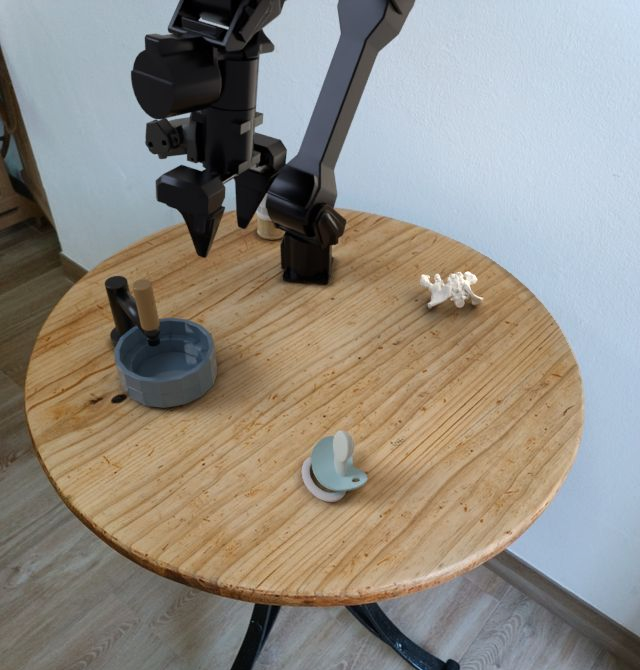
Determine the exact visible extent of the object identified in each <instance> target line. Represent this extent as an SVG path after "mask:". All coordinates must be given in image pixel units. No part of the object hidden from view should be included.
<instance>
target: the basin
mask: <svg viewBox="0 0 640 670" xmlns="http://www.w3.org/2000/svg"><path fill="white" fill-rule="evenodd" d="M159 323H160V325H159V328H160V334H159V337H160V344H159V345H158V346H155V347H152V346H149V345H148V342H147V337H146V336H145V335H144V334H143V333H142V331H141V330H140V329H139V328H138V327H137V326H135V327H133V328H132V329H130V330H129V331H128V332H127V333H125V334H124V335H123V336H122V337H121V338H120V339H119V341H118V343H117V345H116V347H114V349H113V353H114V354H113V355H114V363H115V367H116V372H117V374H118V379H119V383H120V386H121V388H122V390H123V391H124V392H125V394H126V395H127V396H128V397H129V399H130V400H132V401H135V402H137V403H139V404H141V405H143V406H145V407H154V408H163V409H164V408H165V409H166V408H172V407H177V406H183V405H186V404H189V403H191V402H193V401H196V400H198V399H199V398H201V397H203V396H204V395H205V394H206V393H207V392H208V391H209V390H210V389H211V388H212V387H213V386H214V384H215V381H216V378H217V376H218V363H217V355H216V348H215V343H214V339H213V335H212V334H211V333H210V332H209V331H208V330H207V329H206V328H205V327H204V326H203V325H202V324H200V323H197V322H195V321H192V320H190V319H187V318H179V317H164V318H159Z"/></svg>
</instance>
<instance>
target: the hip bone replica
mask: <svg viewBox="0 0 640 670" xmlns="http://www.w3.org/2000/svg"><path fill="white" fill-rule="evenodd" d="M430 279H431V277H430V275H428V274H420V280H419V285H420V287H422V288H423V289H428V292H430V293H431V296H430V302H428V303H427V307H428V309H430V310H431V309H432V307H434V306H437V305H440V304H442V303H445V302H446V301H447V300H448V299H449V301H453V304H454V305H455V307H456V308H459V309H460V308H463V307H464V306H465V304H466V303H465V300H468V299H469V298H470V300H471V304H472V305H478V304H481V303H482V302H483V301H484V297H480V296H478V295H477V294H475V293H474V292H473V290H472V288H471V286H473V285H475V284H477V282H478V278H477V276H476V275H475V274H473V273H472V272H470V271H465V272H464V273H462V272H461V271H457V272H455V273H449V277H447V278H446V279H447V282H446V283H444V279H442V278H441V275H440V274H439V273H435V274H434V276H433V279H434V281H435V282H433V283H432V282H431V281H430Z"/></svg>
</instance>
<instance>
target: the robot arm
mask: <svg viewBox="0 0 640 670" xmlns="http://www.w3.org/2000/svg"><path fill="white" fill-rule="evenodd" d="M287 1H288V0H179V1H178V2H177V5H176V8H175V9H174V12H173V14H172V17H171V19H170V21H169V23H168V25H167V32H168V33H169V34H161V33H148V34H145V35H144V49H143V50H141V51H140V52H138V54H137V55H136V57H135V60H134V61H133V66H132V70H130V82H131V87H132V91H133V94H134V97H135V98H136V101H137V103H138V106H140V109H141V110H143V112H144V113H145V114H146V115H147V116H149V117H150V118H152V119H153V120H151V121H148V122H146V124H145V138H144V139H145V140H144V143H145V146H146V147H147V149H148V151H149V152H150V154H152V155H157V157H158V159H159V160H166V159H167V158H168V157H176V156H184V155H186V161H187V162H190V163H193V164H202V168H204V169H202V170H199V169H197V168H193V167H190V166H187V165H184V164H180V165H178V166H176V167H174V168H171V169H170V170H168V171H167V172H164V173H163V174H161V175H160V176H159V177H158V178H157V179H156V180H155V199H156V202H158V203H161V204H164V205H166V206H167V207H168V208H171V209H174V210H177V211H178V212H179V214H180V215H181V217H182V218H183V221H184V223H185V225H186V227H187V231H188V232H189V236H190V238H191V241H192V244H193V247H194V250H195V253H196V255H197V257H200V258H203V259H206V258H208V256H209V254H210V251H211V249H212V246H213V244H214V240H215V238H216V235H217V232H218V231H219V230H218V229H219V226H220V224H221V221H222V220H223V219H222V218H223V215H224V213H225V210H226V207H225V206H223V203H224V201H225V199H226V185H225V184H227V183H228V182H230V181H231V180H233V181H234V188H235V189H234V190H235V211H236V212H235V213H236V214H235V215H236V223H237V227H238V228H240V229H242V230H246V229H248V227H249V225H250V224H251V221H252V220H253V218H254V216H255V215H256V211H257V209H258V207H259V205H260V203H261V202H262V200H263V198H264V197H265V195H266V193H268V194H267V197H266V204H265V207H266V209H267V211H268V216H269V218H270V219H271V220H272V223H273V225H274V228H276V229H280V230H283V231H285V234H284V235H283V237H281V242H280V244H279V245H280V247H279V248H280V249H279V250H280V269H281V270H282V271H283V273H282V277H281V278H282V280H283V281H284V282H293V283H303V284H315V285H323V286H325V285H328V284H329V283H330V279H331V274H332V269H333V265H334V261H335V260H334V259H335V257H334V256H333V246H337V245H338V244H339V239H340V238H341V237H343V236H344V234H345V230H346V229H345V228H346V224H347V218H345V217H344V216H343V215H342V214H340V213H339V212H338V211H337V210H336V209H335V205H336V202H337V198H338V189H337V188H338V187H337V182H336V174H335V169H336V166H337V162H338V161H339V157H340V154H341V152H342V149H343V147H344V144H345V142H346V139H347V137H348V134H349V131H350V128H351V126H352V123H353V120H354V119H355V118H354V117H355V115H356V113H357V110H358V107H359V105H360V102H361V100H362V96H363V94H364V92H365V88H366V86H367V83H368V82H369V81H368V80H369V78H370V76H371V73H372V70H373V67H374V65H375V62H376V60H377V57H378V55H379V53H380V52H381V51H382V50H383V49H384V48H385V47H387V45H388V44H390V43H391V42H392V41H393V40H394V39H396V38H397V36H399V34H400V33H401V31H402V30H403V27H404V26H405V22H406V21H407V19H408V17H409V15H410V13H411V11H412V10H413V9H414V7H415V3H416V0H338V1H337V5H336V9H337V15H338V24H339V31H340V35H339V38H338V41H337V44H336V47H335V49H334V52H333V55H332V58H331V60H330V63H329V66H328V69H327V71H326V74H325V77H324V81H323V83H322V85H321V89H320V91H319V94H318V97H317V99H316V102H315V104H314V108H313V111H312V114H311V116H310V118H309V122H308V125H307V127H306V130H305V133H304V136H303V138H302V141H301V143H300V147H299V149H298V151H297V154H296V155H295V156H294V157H292V158H291V159H290V160H289V161H288V162H287V154H288V149H287V147H286V146H285V144H284V143H283V141H282V139H279V138H276V137H272V136H269V135H266V134H262V133H259V132H256V128H257V127H259V126H260V125H262V124H264V113H263V112H260V111H257V104H258V103H257V101H258V100H257V99H258V88H259V87H258V85H259V73H260V71H259V70H260V59H261V57H260V56H261V55H264V54H269V53H273V52H274V51H275V48H276V47H275V44H274V43H273V42H272V41H271V39H270V38H269V37H268V36H267V34H266V33H265V31H264V28H265V27H267V26H268V25H270V24H271V23H272V22H273V21H274V20H276V19H277V18H278V17H279V16H280V15H281V14H282V11H283V8H284V6H285V3H286V2H287ZM200 19H201V20H203V21H201V20H200ZM207 22H208V23H207ZM214 24H216V25H214ZM218 25H219V26H218ZM221 26H222V27H221ZM225 27H226V28H225ZM186 114H189V116H188V117H187V116H186V117H181V118H174V119H171V120H168V118H173V117H178V116H181V115H186Z"/></svg>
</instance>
